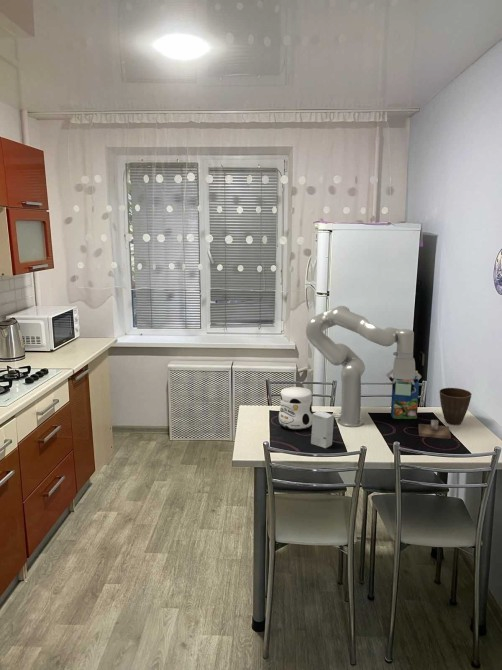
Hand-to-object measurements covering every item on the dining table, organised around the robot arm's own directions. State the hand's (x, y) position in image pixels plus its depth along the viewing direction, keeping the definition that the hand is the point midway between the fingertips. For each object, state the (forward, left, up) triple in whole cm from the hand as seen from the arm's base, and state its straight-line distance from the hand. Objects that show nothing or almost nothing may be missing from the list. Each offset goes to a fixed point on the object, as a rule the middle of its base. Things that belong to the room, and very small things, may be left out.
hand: (403, 390), depth 246 cm
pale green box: (0, 0, -1) cm, 1 cm away
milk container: (-51, -8, -20) cm, 55 cm away
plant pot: (+25, +16, -20) cm, 36 cm away
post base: (+15, 0, -20) cm, 25 cm away
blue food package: (+1, +18, -20) cm, 27 cm away
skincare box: (-35, -27, -20) cm, 48 cm away
